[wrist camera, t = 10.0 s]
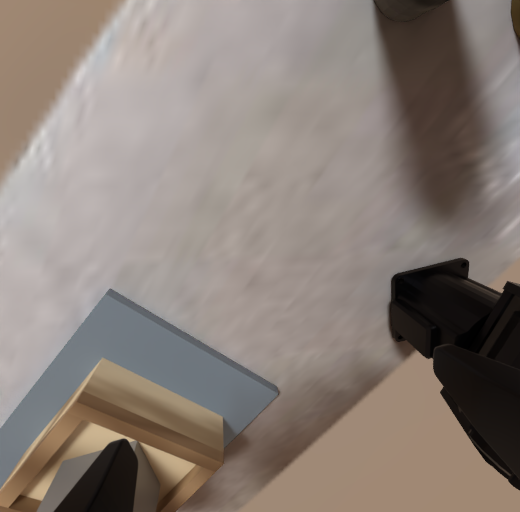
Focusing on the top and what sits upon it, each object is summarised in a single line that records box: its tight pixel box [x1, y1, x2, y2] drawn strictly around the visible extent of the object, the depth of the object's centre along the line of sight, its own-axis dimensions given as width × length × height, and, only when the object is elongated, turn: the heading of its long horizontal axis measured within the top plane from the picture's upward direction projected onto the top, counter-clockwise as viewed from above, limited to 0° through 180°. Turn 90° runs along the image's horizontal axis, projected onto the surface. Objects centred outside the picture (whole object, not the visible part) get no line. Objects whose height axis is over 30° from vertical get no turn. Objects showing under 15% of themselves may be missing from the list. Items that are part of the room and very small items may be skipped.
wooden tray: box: [0, 358, 224, 512], centre depth 20 cm, size 11×11×4 cm
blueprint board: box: [0, 289, 279, 489], centre depth 22 cm, size 20×16×1 cm
